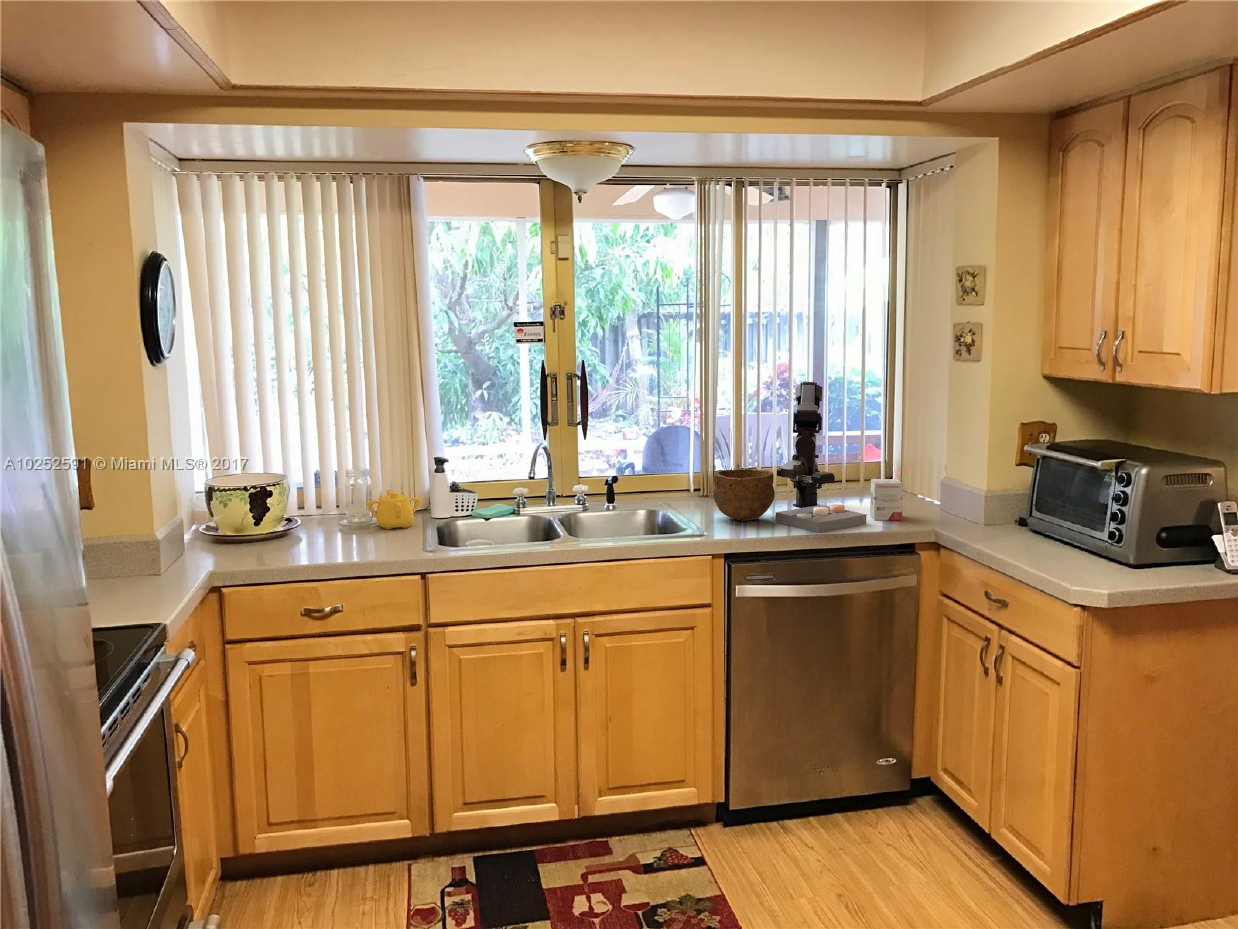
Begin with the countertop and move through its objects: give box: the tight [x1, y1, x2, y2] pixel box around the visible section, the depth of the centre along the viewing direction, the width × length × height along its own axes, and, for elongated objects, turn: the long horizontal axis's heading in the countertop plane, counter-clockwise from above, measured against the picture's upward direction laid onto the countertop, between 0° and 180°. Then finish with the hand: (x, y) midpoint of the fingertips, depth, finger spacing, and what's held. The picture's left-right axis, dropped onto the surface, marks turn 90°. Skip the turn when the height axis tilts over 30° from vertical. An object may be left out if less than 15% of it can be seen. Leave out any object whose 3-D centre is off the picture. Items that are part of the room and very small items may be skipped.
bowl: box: [712, 468, 776, 521], centre depth 297 cm, size 19×19×15 cm
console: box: [774, 504, 867, 533], centre depth 293 cm, size 18×20×3 cm
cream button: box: [813, 507, 828, 516], centre depth 293 cm, size 4×4×3 cm
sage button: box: [797, 513, 812, 519], centre depth 289 cm, size 4×4×3 cm
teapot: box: [366, 489, 422, 530], centre depth 290 cm, size 14×13×10 cm
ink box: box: [869, 478, 904, 521], centre depth 300 cm, size 9×9×12 cm
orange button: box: [829, 503, 846, 513], centre depth 297 cm, size 4×4×3 cm
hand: (804, 503), depth 288 cm, fingers closed
